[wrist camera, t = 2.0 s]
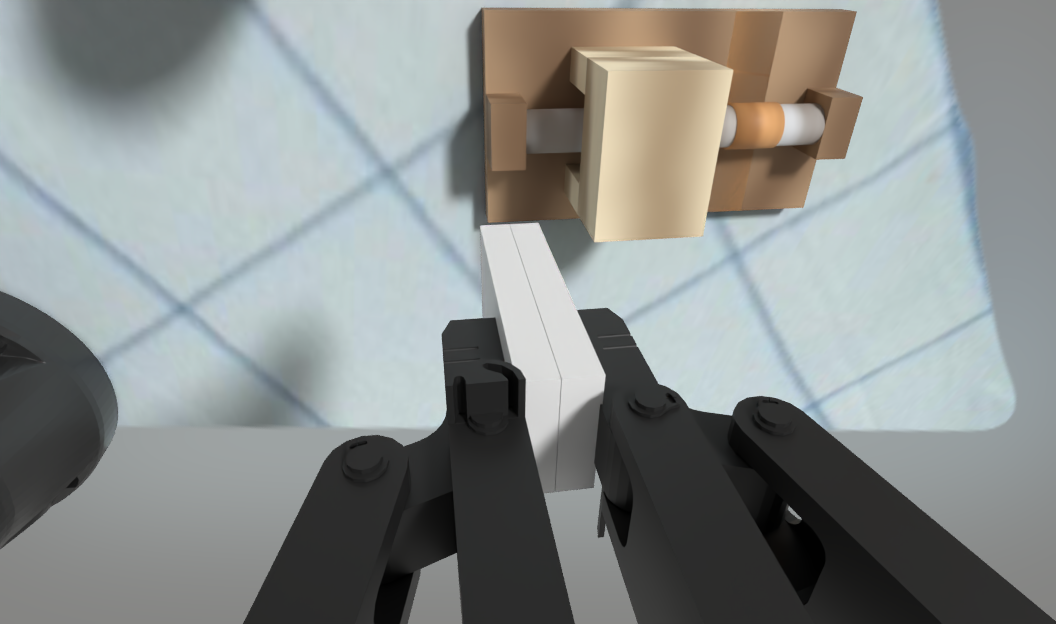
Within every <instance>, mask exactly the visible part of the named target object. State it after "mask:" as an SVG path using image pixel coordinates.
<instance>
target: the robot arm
mask: <svg viewBox="0 0 1056 624" xmlns="http://www.w3.org/2000/svg"><path fill="white" fill-rule="evenodd" d="M480 243H481V280H482V316H483V318H479V319H465V320H451V321H450V322H449V323H448V325H447V327H446V328H445V330H444V331H443V333H442V346H443V361H444V375H445V390H446V404H447V411H446V417H445V419H444V421H443V423H442V425H441V426H440V427H439V428H438V429H437V430H436V431H435V432H434V433H432V434H431V435H430V436H428V437H427V438H424V439H422V440H420V441H418V442H415V443H413V444H410V445H407V446H404V447H403V445H401V444H400V443H398V442H397V441H395V440H394V439H392V438H389V437H384V436H380V435H372V436H361V437H358V438H355V439H352V440H349V441H346V442H345V443H343V444H342V445H340V446H339V447H337V448H336V449H334V450H333V451H332V452H331V454H330V455H329V456H328V457H327V458H326V460H325V461H324V463H323V465H322V467H321V469H320V471H319V473H318V475H317V477H316V479H315V481H314V483H313V485H312V487H311V489H310V491H309V493H308V495H307V497H306V499H305V501H304V503H303V505H302V507H301V509H300V511H299V513H298V515H297V517H296V519H295V521H294V523H293V525H292V527H291V529H290V531H289V533H288V535H287V537H286V539H285V541H284V543H283V545H282V547H281V549H280V551H279V553H278V555H277V557H276V559H275V561H274V563H273V565H272V567H271V569H270V571H269V573H268V575H267V577H266V579H265V581H264V583H263V585H262V587H261V589H260V591H259V593H258V595H257V597H256V599H255V601H254V603H253V605H252V607H251V609H250V611H249V613H248V615H247V617H246V619H245V621H244V623H243V624H408V620H409V616H410V612H411V608H412V604H413V600H414V597H415V593H416V589H417V585H418V581H419V577H420V569H421V568H424V567H426V566H428V565H430V564H432V563H435V562H437V561H439V560H441V559H444V558H446V557H448V556H450V555H453V554H455V553H457V559H458V572H459V585H460V600H461V613H462V624H575V623H574V619H573V614H572V610H571V606H570V602H569V598H568V594H567V589H566V585H565V581H564V577H563V573H562V569H561V564H560V560H559V556H558V552H557V548H556V543H555V539H554V535H553V531H552V527H551V523H550V519H549V515H548V510H547V506H546V502H545V498H544V493H551V492H560V491H568V490H578V489H586V488H593V487H594V479H595V470H596V469H597V472H598V475H599V478H600V481H601V484H602V492H601V500H600V509H599V517H598V526H597V529H598V537H604V531H605V523H606V526H607V530H608V533H609V536H610V539H611V542H612V545H613V548H614V551H615V554H616V557H617V560H618V563H619V567H620V570H621V573H622V576H623V579H624V582H625V585H626V588H627V591H628V594H629V598H630V601H631V604H632V607H633V610H634V613H635V616H636V619H637V622H638V624H1056V621H1055V620H1053V619H1052V618H1051V617H1050V616H1049V615H1047V614H1046V613H1045V612H1044V611H1043V610H1041V609H1040V608H1039V607H1038V606H1037V605H1035V604H1034V603H1033V602H1032V601H1030V600H1029V599H1028V598H1027V597H1026V596H1025V595H1023V594H1022V593H1021V592H1020V591H1019V590H1017V589H1016V588H1015V587H1014V586H1013V585H1011V584H1010V583H1009V582H1008V581H1007V580H1005V579H1004V578H1003V577H1002V576H1000V575H999V574H998V573H997V572H996V571H994V570H993V569H992V568H991V567H990V566H988V565H987V564H986V563H985V562H984V561H982V560H981V559H980V558H979V557H978V556H976V555H975V554H974V553H973V552H972V551H970V550H969V549H968V548H967V547H966V546H964V545H963V544H962V543H961V542H960V541H958V540H957V539H956V538H955V537H953V536H952V535H951V534H950V533H949V532H948V531H946V530H945V529H944V528H943V527H941V526H940V525H939V524H938V523H937V522H936V521H934V520H933V519H931V518H930V517H929V516H928V515H927V514H926V513H925V512H923V511H922V510H921V509H920V508H918V507H917V506H916V505H915V504H914V503H913V502H911V501H910V500H909V499H908V498H907V497H905V496H904V495H903V494H902V493H901V492H899V491H898V490H897V489H896V488H894V487H893V486H892V485H891V484H890V483H889V482H887V481H886V480H885V479H884V478H882V477H881V476H880V475H879V474H878V473H876V472H875V471H874V470H873V469H872V468H870V467H869V466H868V465H867V464H866V463H864V462H863V461H862V460H861V459H860V458H858V457H857V456H856V455H855V454H854V453H852V452H851V451H850V450H849V449H847V448H846V447H845V446H844V445H843V444H842V443H840V442H839V441H838V440H837V439H835V438H834V437H833V436H832V435H831V434H829V433H828V432H827V431H826V430H825V429H823V428H822V427H821V426H820V425H819V424H817V423H816V422H815V421H814V420H813V419H811V418H810V417H809V416H808V415H807V414H805V413H804V412H803V411H801V410H800V409H798V408H797V407H795V406H794V405H792V404H790V403H788V402H785V401H782V400H780V399H777V398H772V397H764V396H757V397H749V398H746V399H744V400H742V401H740V402H738V404H737V405H736V407H735V409H734V411H733V415H732V416H730V415H723V414H715V413H708V412H702V411H697V410H693V409H690V408H688V406H687V404H686V402H685V401H684V400H683V399H682V398H681V397H680V395H679V394H678V393H676V392H675V391H673V390H671V389H670V388H668V387H666V386H663V385H659V384H658V382H657V381H656V379H655V377H654V375H653V373H652V372H651V370H650V368H649V366H648V364H647V363H646V361H645V359H644V357H643V355H642V353H641V352H640V350H639V348H638V347H637V346H636V343H635V341H634V339H633V337H632V336H630V332H629V330H628V328H627V326H626V324H625V323H624V321H623V319H622V318H620V317H619V316H617V315H616V314H615V313H613V312H612V311H611V310H609V309H608V308H599V309H585V310H577V309H576V307H575V305H574V302H573V300H572V298H571V296H570V293H569V291H568V289H567V287H566V284H565V282H564V280H563V277H562V275H561V273H560V271H559V268H558V266H557V264H556V262H555V259H554V257H553V255H552V253H551V250H550V248H549V246H548V244H547V241H546V239H545V237H544V234H543V232H542V230H541V228H540V225H539V223H524V224H510V225H509V224H503V225H482V226H480ZM117 420H118V407H117V400H116V396H115V392H114V389H113V386H112V384H111V381H110V379H109V377H108V375H107V373H106V372H105V370H104V368H103V367H102V365H101V364H100V362H99V361H98V360H97V358H96V357H95V356H94V355H93V353H92V352H91V351H90V350H89V349H88V348H87V347H86V346H85V345H84V343H83V342H81V341H80V340H79V339H78V338H77V337H76V336H75V335H74V334H73V333H71V332H70V331H69V330H68V329H67V328H65V327H64V326H63V325H61V324H60V323H59V322H57V321H56V320H54V319H53V318H51V317H50V316H48V315H47V314H45V313H44V312H42V311H40V310H38V309H37V308H35V307H33V306H31V305H29V304H27V303H26V302H24V301H22V300H19V299H17V298H15V297H13V296H11V295H8V294H6V293H3V292H1V291H0V549H1V548H3V547H4V546H5V545H6V544H8V543H9V542H10V541H11V540H13V539H14V538H15V537H17V536H18V535H19V534H20V533H22V532H23V531H24V530H25V529H27V528H28V527H29V526H30V525H32V524H33V523H34V522H35V521H36V520H38V519H39V518H40V517H41V516H42V515H43V514H44V513H45V512H46V511H47V510H48V509H49V508H50V507H51V506H53V505H54V504H56V503H58V502H60V501H61V500H63V499H64V498H66V497H67V496H68V495H70V494H71V493H72V492H73V491H75V490H76V489H77V488H78V487H79V486H80V485H81V484H82V483H83V482H84V481H85V480H86V479H87V478H88V477H89V476H90V474H91V473H92V471H93V470H94V469H95V467H96V466H97V464H98V462H99V461H100V459H101V457H102V456H103V454H104V452H105V451H106V449H107V448H108V446H109V444H110V442H111V440H112V438H113V436H114V433H115V430H116V426H117ZM789 506H790V507H791V508H792V509H793V510H794V511H795V512H796V513H797V514H798V515H799V516H800V517H801V518H802V520H800V519H797V518H796V517H795V516H794V515H792V514H791V513H790V511H788V507H789Z"/></svg>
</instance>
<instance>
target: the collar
mask: <svg viewBox="0 0 1056 624" xmlns="http://www.w3.org/2000/svg"><path fill="white" fill-rule="evenodd" d="M732 75H733V69H730V68H728V67H725V66H723V65H720V64H718V63H715V62H713V61H710V60H708V59H705V58H702V57H700V56H697V55H695V54H692V53H690V52H687V51H685V50H682V49H680V48H677V47H675V46H655V47H571V65H570V82H571V83H572V84H573V85H574V86H576V87H577V88H578V89H579V90H580V91H581V92H582V93H583V94H585V102H584V117H583V133H582V149H581V164H565V183H564V193H565V195H566V196H567V198H568V200H569V201H570V203H571V205H572V206H573V208H574V210H575V211H576V213H577V215H578V216H579V218H580V220H581V221H582V223H583V224H584V226H585V228H586V229H587V231H588V233H589V234H590V236H591V238H592V239H593V241H594V242H608V241H627V240H645V239H663V238H682V237H700V236H703V232H704V227H705V222H706V216H707V211H708V205H709V200H710V195H711V189H712V184H713V178H714V173H715V167H716V162H717V157H718V151H719V146H720V140H721V135H722V129H723V124H724V119H725V113H726V108H727V102H728V97H729V92H730V86H731V81H732Z"/></svg>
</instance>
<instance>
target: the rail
mask: <svg viewBox="0 0 1056 624" xmlns="http://www.w3.org/2000/svg"><path fill="white" fill-rule="evenodd" d="M856 13H857V12H855V11H849V10H843V9H644V8H482V56H483V103H484V151H485V199H486V217H487V220H488V223H493V222H514V221H534V220H555V219H576V218H579V216H578V215H577V213H576V211H575V210H574V208H573V206H572V205H571V203H570V201H569V200H568V198H567V196H566V195H565V193H564V183H565V164H581V149H582V133H583V117H584V102H585V94H583V93H582V92H581V91H580V90H579V89H578V88H577V87H576V86H574V85H573V84H572V83H571V82H570V65H571V47H655V46H675V47H677V48H680V49H682V50H685V51H687V52H690V53H692V54H695V55H697V56H700V57H702V58H705V59H708V60H710V61H713V62H715V63H718V64H720V65H723V66H725V67H728V68H730V69H733V75H732V81H731V86H730V92H729V97H728V102H727V108H726V113H725V119H724V124H723V129H722V135H721V140H720V146H719V151H718V157H717V162H716V167H715V173H714V178H713V184H712V189H711V195H710V200H709V205H708V211H707V212H721V211H741V210H762V209H783V208H803V207H804V203H805V200H806V196H807V192H808V189H809V185H810V181H811V178H812V174H813V170H814V167H815V163H816V160H819V159H845V156H846V153H847V149H848V146H849V143H850V139H851V136H852V133H853V129H854V126H855V123H856V119H857V116H858V112H859V109H860V106H861V102H862V99H863V97H861V96H858V95H855V94H853V93H850V92H847V91H844V90H841V89H838V88H836V86H837V82H838V79H839V75H840V71H841V68H842V64H843V60H844V57H845V53H846V49H847V46H848V42H849V38H850V35H851V31H852V27H853V24H854V20H855V16H856Z"/></svg>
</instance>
